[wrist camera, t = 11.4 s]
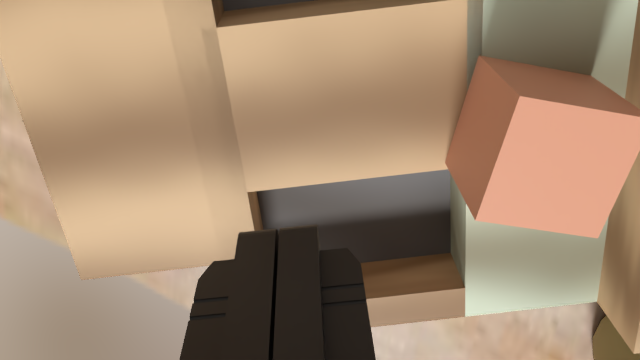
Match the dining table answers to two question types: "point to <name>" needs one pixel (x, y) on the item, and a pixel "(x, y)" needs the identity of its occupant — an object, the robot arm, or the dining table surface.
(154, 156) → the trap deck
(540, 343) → the dining table surface
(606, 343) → the squeeze bottle
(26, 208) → the dining table surface
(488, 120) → the block
